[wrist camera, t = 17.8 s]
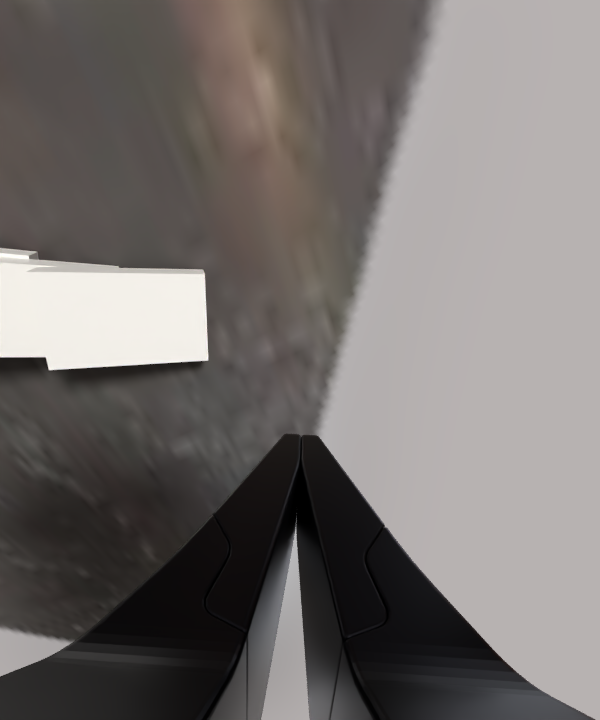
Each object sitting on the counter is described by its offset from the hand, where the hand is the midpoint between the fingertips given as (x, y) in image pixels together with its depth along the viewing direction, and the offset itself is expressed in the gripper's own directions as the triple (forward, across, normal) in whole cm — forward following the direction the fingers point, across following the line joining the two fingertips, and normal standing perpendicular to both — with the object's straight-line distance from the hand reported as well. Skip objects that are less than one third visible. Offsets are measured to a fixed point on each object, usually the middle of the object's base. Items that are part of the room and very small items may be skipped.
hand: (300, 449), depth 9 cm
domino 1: (+12, +6, 0) cm, 14 cm away
